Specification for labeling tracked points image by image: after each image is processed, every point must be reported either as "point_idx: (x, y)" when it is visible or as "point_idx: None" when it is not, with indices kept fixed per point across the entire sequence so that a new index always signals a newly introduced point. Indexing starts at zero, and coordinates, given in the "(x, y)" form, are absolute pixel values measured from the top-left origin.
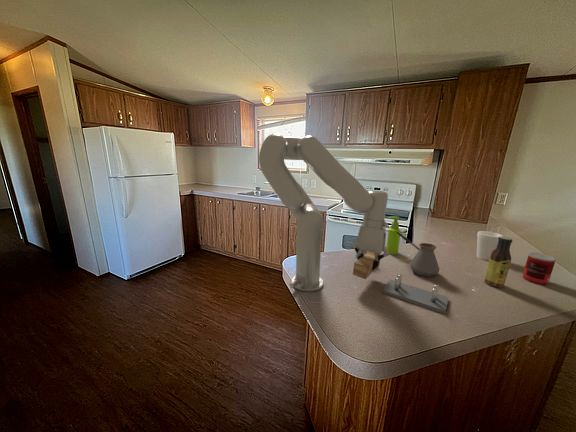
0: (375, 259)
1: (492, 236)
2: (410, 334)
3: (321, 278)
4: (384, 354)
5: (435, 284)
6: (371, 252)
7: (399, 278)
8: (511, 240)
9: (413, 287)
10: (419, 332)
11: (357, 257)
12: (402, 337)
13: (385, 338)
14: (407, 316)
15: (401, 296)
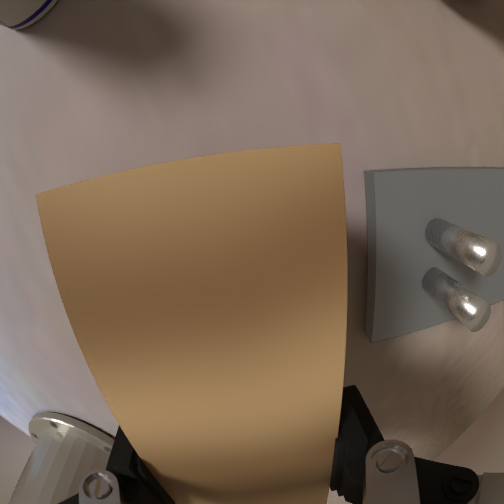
0: (356, 500)
1: None
2: (450, 424)
3: (85, 432)
4: None
5: None
6: (106, 235)
7: (487, 312)
8: None
9: (489, 181)
10: (470, 404)
11: (15, 27)
12: (433, 442)
13: None
14: (455, 382)
15: (452, 318)
